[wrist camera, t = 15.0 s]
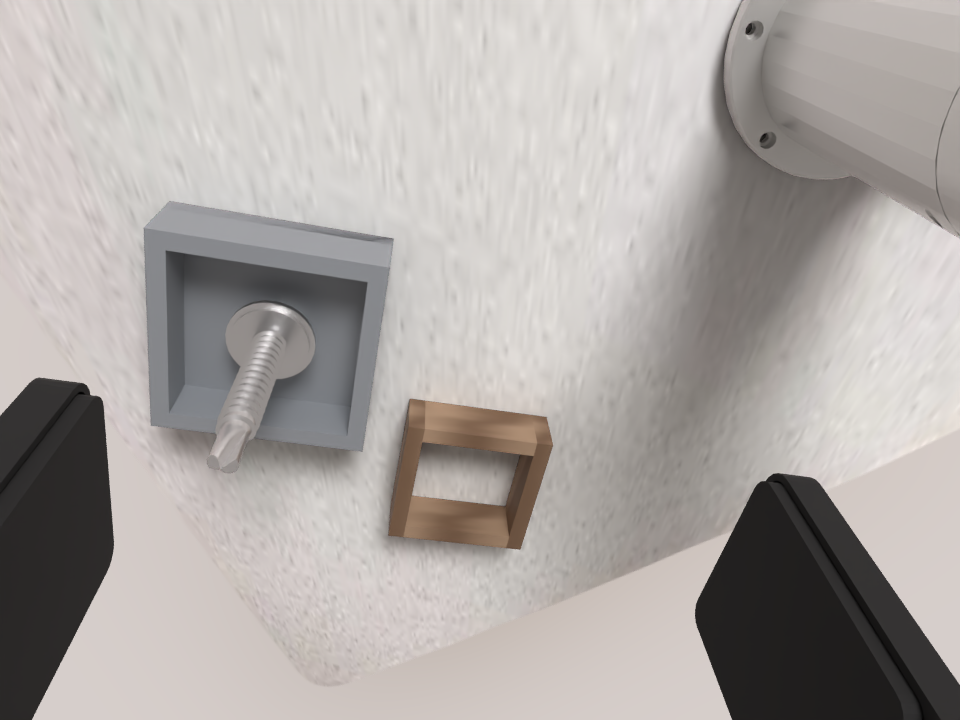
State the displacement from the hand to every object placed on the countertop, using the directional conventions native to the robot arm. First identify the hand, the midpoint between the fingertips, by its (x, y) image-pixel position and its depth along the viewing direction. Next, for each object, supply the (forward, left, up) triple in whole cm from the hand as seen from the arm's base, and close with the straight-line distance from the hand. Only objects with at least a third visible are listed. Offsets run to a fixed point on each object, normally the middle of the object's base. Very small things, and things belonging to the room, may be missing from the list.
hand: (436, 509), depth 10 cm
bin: (+7, +14, -30) cm, 34 cm away
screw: (+7, +14, -30) cm, 33 cm away
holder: (-6, +23, -30) cm, 39 cm away
